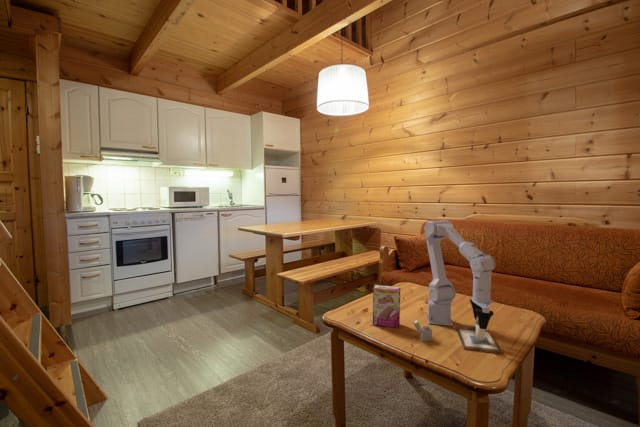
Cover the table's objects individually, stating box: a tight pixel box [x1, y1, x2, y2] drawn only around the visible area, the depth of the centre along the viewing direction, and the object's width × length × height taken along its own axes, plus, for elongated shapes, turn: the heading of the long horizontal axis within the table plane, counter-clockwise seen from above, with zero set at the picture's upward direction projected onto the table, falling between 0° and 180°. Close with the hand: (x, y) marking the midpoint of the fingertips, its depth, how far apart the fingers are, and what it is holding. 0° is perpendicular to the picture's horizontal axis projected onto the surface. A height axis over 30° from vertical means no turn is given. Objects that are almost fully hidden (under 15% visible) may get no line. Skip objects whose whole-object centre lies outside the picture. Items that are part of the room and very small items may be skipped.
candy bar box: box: [372, 284, 401, 329], centre depth 127 cm, size 11×5×16 cm, turn 74°
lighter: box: [412, 319, 433, 342], centre depth 114 cm, size 7×2×8 cm, turn 100°
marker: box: [475, 317, 486, 342], centre depth 111 cm, size 3×3×8 cm
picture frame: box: [455, 325, 502, 354], centre depth 113 cm, size 12×16×2 cm
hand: (480, 323), depth 111 cm, fingers open, 7 cm apart
